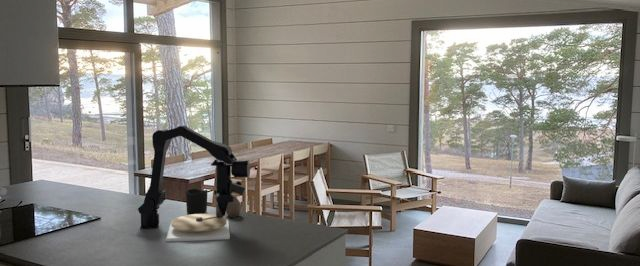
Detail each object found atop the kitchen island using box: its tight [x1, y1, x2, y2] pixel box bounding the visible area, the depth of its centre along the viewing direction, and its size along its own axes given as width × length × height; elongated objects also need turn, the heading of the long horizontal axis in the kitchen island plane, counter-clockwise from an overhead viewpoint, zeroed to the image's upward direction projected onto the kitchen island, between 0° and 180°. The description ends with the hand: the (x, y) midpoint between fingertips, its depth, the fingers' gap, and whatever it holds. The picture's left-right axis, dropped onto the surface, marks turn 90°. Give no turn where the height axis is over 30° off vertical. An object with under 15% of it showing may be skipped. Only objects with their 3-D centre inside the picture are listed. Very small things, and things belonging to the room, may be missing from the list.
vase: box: [225, 195, 242, 218], centre depth 229 cm, size 7×7×9 cm
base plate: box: [165, 219, 231, 243], centre depth 205 cm, size 23×23×1 cm
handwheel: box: [171, 203, 227, 231], centre depth 205 cm, size 22×21×8 cm
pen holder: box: [185, 188, 208, 215], centre depth 234 cm, size 9×9×10 cm
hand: (223, 215), depth 208 cm, fingers closed
